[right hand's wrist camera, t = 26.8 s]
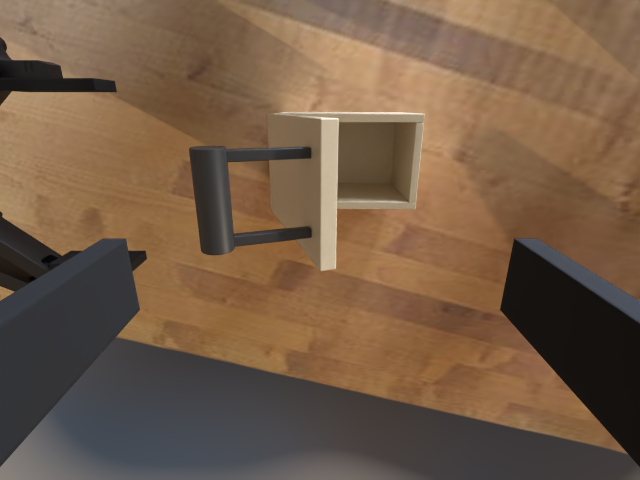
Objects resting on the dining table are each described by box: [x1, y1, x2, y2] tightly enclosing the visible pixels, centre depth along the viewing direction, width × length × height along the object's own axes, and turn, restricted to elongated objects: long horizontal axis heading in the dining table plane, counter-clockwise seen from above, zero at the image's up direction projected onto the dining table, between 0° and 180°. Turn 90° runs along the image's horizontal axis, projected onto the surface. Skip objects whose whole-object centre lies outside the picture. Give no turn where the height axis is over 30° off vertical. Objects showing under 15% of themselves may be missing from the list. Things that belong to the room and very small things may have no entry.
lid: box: [189, 114, 339, 271], centre depth 28 cm, size 16×10×8 cm
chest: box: [274, 112, 425, 209], centre depth 42 cm, size 15×10×11 cm, turn 90°
